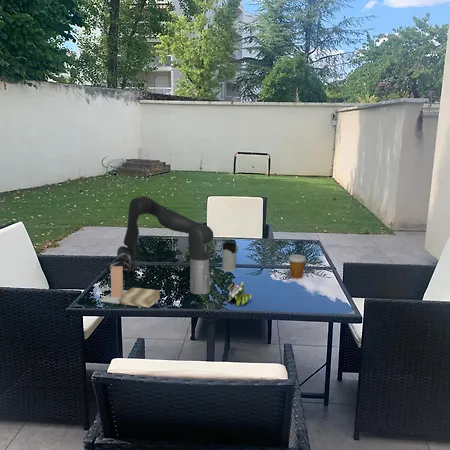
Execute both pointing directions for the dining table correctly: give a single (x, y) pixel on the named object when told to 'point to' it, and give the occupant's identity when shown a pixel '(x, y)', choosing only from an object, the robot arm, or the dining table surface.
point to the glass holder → (229, 257)
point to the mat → (112, 298)
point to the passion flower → (237, 290)
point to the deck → (140, 297)
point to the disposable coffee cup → (296, 265)
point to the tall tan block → (116, 281)
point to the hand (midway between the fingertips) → (119, 270)
